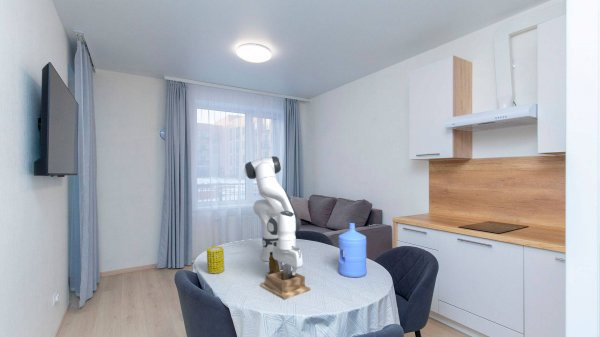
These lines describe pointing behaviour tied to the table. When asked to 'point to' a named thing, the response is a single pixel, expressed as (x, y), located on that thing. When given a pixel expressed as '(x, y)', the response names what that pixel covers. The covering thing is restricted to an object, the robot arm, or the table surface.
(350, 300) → the table surface
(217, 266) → the food
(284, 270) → the bracket
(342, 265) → the water jug
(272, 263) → the condiment
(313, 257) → the table surface
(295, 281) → the box
